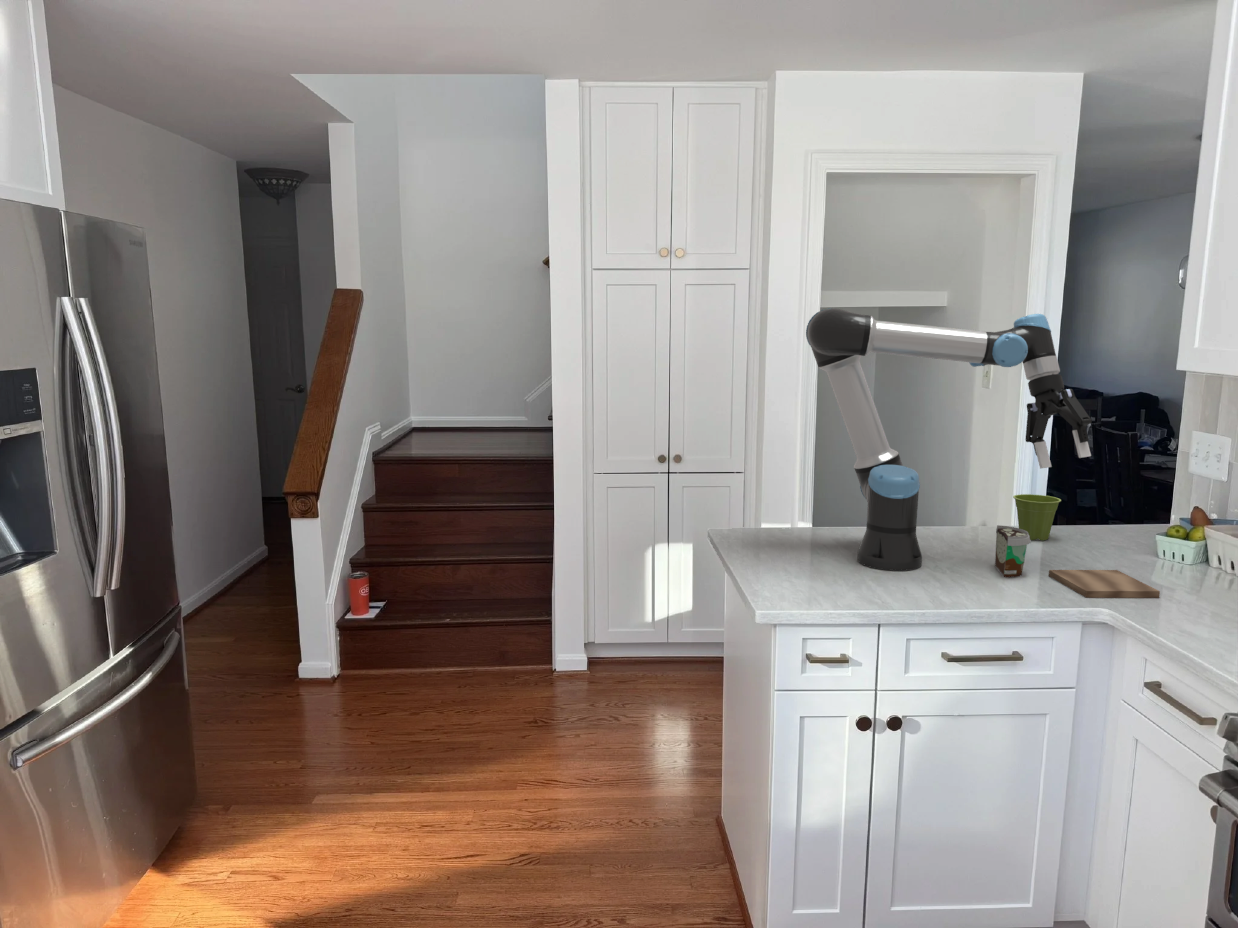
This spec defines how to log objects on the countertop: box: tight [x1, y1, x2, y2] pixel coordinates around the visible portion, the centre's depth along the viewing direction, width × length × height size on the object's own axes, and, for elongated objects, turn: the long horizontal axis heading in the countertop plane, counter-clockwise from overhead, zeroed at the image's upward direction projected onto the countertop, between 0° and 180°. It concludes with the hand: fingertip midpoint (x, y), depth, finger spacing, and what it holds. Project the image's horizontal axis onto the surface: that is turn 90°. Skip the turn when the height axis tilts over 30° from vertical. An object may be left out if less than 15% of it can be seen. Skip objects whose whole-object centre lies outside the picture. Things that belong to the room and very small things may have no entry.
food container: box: [994, 524, 1031, 578], centre depth 204 cm, size 12×6×10 cm, turn 168°
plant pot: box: [1012, 493, 1062, 541], centre depth 236 cm, size 12×12×11 cm
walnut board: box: [1048, 569, 1161, 599], centre depth 194 cm, size 16×16×2 cm
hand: (1064, 462), depth 206 cm, fingers open, 13 cm apart
